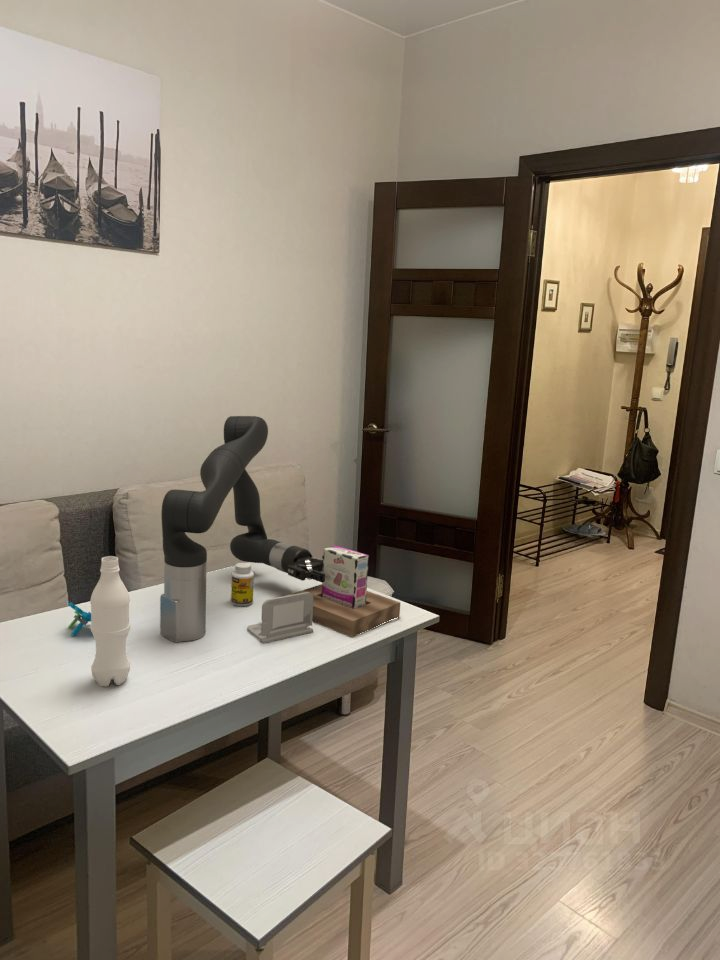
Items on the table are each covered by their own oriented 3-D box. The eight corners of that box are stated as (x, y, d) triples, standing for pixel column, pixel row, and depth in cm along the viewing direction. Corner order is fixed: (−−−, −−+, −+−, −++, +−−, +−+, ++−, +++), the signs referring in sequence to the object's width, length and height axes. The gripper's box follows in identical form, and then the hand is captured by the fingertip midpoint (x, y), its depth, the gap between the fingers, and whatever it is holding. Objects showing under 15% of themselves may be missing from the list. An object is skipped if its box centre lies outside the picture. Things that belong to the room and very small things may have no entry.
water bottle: (93, 691, 139) (90, 565, 134) (90, 675, 146) (88, 554, 141) (132, 686, 142) (131, 562, 137) (128, 670, 149) (127, 551, 144)
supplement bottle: (227, 605, 186) (228, 566, 184) (236, 597, 191) (237, 560, 189) (247, 608, 185) (248, 569, 183) (256, 601, 190) (257, 563, 188)
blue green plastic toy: (114, 630, 163) (80, 604, 159) (96, 652, 161) (61, 627, 156) (99, 619, 172) (66, 595, 167) (81, 641, 170) (47, 616, 165)
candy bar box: (366, 618, 183) (370, 554, 180) (352, 623, 179) (356, 558, 176) (333, 605, 190) (336, 544, 187) (319, 610, 186) (322, 548, 183)
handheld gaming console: (293, 619, 180) (294, 580, 178) (313, 633, 173) (315, 592, 171) (244, 629, 172) (245, 589, 170) (263, 644, 165) (264, 602, 163)
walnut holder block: (352, 637, 171) (352, 621, 170) (286, 610, 185) (286, 595, 184) (399, 617, 185) (400, 602, 184) (334, 593, 198) (335, 579, 198)
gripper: (271, 550, 189) (316, 566, 179) (309, 540, 200) (355, 554, 189) (270, 578, 190) (315, 595, 180) (308, 567, 201) (353, 582, 191)
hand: (335, 574), depth 185 cm, fingers open, 8 cm apart
